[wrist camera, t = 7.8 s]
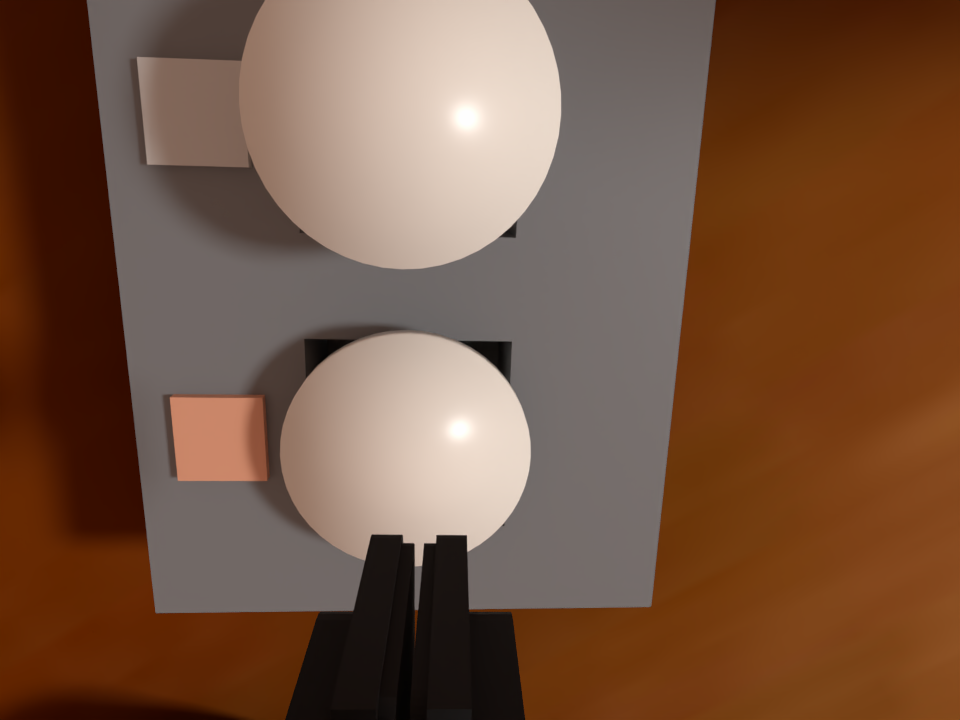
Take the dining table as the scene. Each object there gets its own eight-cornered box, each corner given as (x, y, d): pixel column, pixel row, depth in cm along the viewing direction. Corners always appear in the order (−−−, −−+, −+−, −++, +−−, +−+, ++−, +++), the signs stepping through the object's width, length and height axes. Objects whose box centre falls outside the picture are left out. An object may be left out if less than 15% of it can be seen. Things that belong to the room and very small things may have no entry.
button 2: (515, 301, 23) (536, 336, 18) (507, 485, 25) (525, 565, 20) (310, 297, 23) (273, 333, 18) (317, 486, 25) (285, 567, 20)
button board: (695, -406, 19) (786, -613, 14) (613, 530, 27) (653, 612, 22) (122, -455, 18) (1, -697, 13) (207, 532, 26) (152, 619, 21)
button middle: (535, 1, 19) (571, -64, 14) (524, 248, 21) (552, 272, 16) (285, -10, 19) (227, -82, 14) (296, 243, 21) (249, 266, 15)
